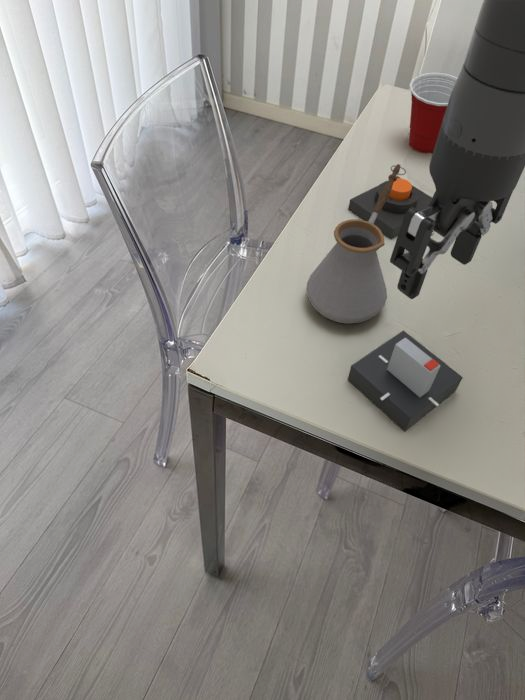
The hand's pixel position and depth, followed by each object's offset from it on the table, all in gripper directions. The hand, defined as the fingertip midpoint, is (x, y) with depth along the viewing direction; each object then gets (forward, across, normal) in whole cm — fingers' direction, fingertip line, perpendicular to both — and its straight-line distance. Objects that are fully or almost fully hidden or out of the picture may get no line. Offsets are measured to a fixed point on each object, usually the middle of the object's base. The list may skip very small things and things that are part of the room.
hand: (434, 275), depth 58 cm
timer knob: (+17, 0, -2) cm, 17 cm away
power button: (+16, +28, +25) cm, 41 cm away
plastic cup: (+20, +49, +36) cm, 64 cm away
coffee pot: (+20, +10, +16) cm, 28 cm away
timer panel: (+20, +1, 0) cm, 20 cm away
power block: (+20, +28, +25) cm, 43 cm away
